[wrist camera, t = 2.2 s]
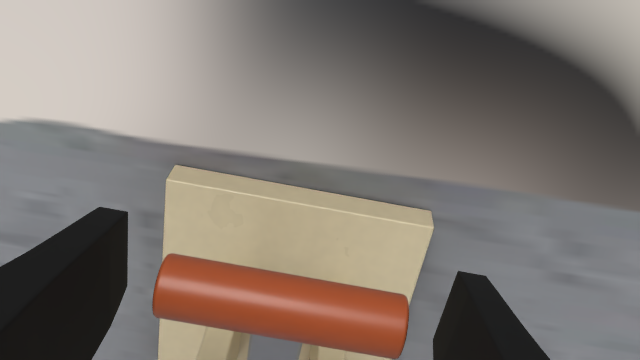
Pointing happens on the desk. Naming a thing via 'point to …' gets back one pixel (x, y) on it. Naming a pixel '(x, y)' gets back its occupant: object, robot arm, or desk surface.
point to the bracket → (285, 246)
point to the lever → (280, 308)
